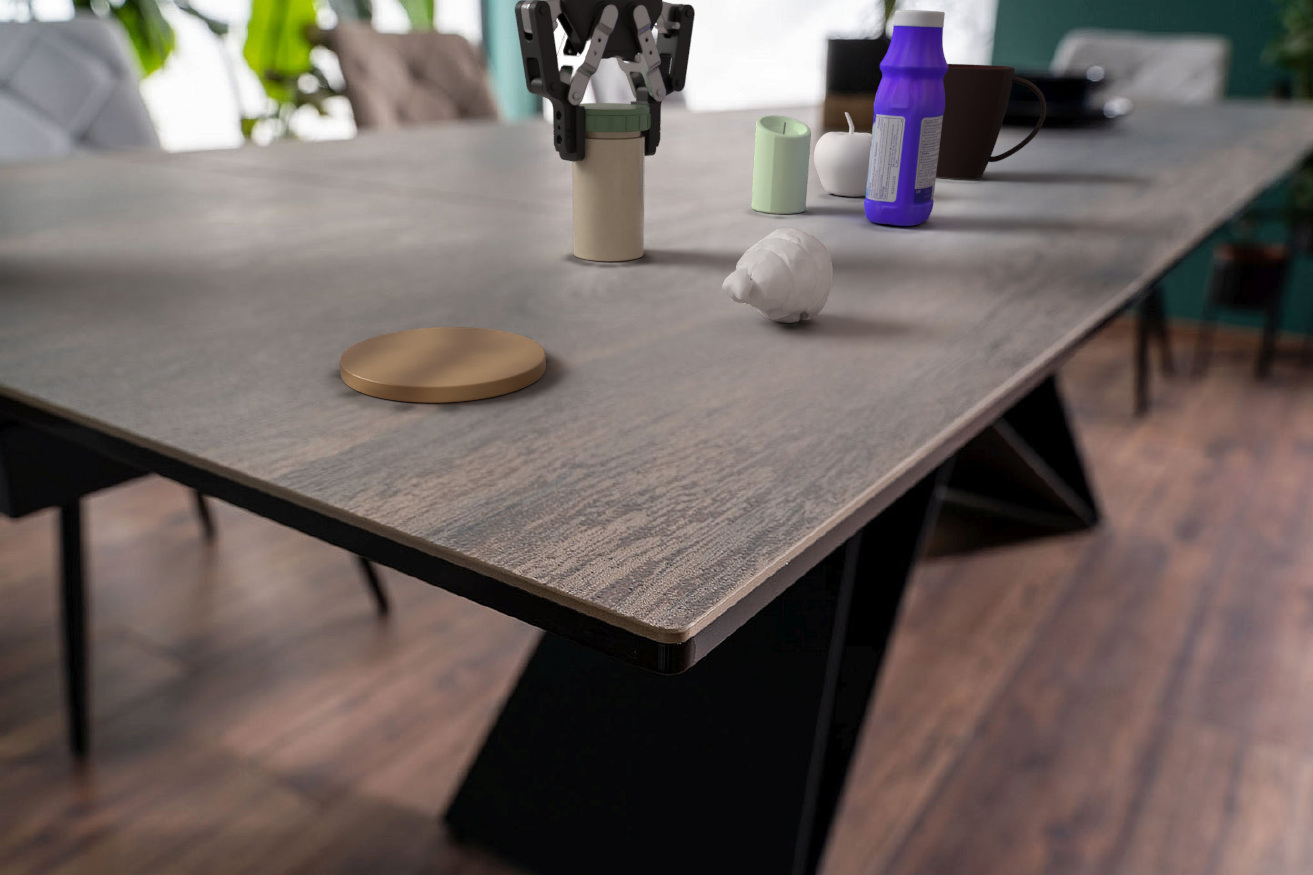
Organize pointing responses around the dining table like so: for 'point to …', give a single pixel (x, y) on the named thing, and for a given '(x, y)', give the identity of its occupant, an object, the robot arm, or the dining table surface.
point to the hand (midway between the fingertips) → (608, 156)
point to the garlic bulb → (783, 276)
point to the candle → (780, 165)
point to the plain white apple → (843, 161)
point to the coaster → (442, 364)
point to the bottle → (907, 121)
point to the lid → (616, 117)
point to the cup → (977, 118)
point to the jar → (609, 197)
